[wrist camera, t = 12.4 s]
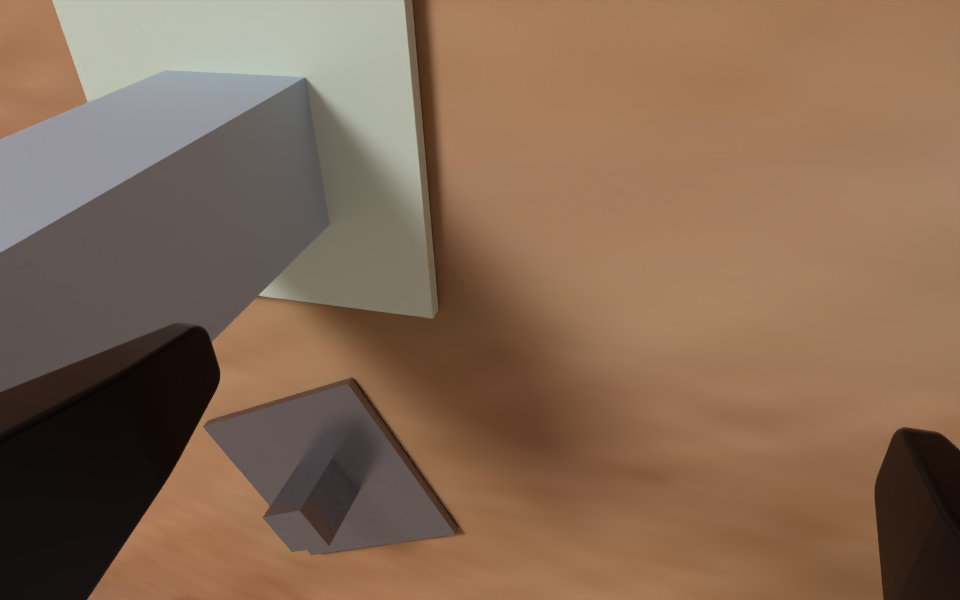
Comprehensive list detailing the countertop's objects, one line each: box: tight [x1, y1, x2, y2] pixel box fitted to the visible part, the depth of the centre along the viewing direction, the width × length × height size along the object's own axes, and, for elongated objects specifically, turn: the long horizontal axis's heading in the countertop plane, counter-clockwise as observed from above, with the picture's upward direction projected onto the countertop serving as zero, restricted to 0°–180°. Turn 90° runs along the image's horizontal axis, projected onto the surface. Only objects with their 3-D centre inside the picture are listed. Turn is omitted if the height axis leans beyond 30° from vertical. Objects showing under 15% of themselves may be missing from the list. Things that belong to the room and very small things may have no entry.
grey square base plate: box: [203, 378, 458, 555], centre depth 31 cm, size 9×9×3 cm
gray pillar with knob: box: [0, 70, 330, 392], centre depth 18 cm, size 5×5×14 cm
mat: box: [53, 0, 439, 319], centre depth 23 cm, size 12×12×1 cm
